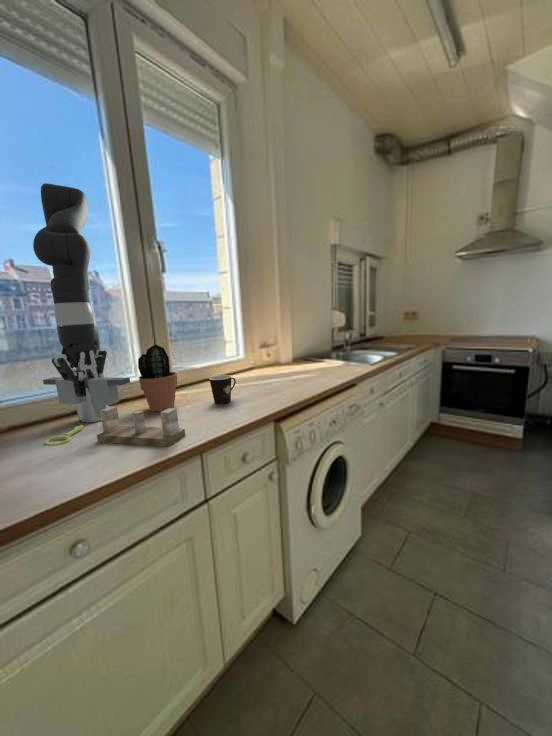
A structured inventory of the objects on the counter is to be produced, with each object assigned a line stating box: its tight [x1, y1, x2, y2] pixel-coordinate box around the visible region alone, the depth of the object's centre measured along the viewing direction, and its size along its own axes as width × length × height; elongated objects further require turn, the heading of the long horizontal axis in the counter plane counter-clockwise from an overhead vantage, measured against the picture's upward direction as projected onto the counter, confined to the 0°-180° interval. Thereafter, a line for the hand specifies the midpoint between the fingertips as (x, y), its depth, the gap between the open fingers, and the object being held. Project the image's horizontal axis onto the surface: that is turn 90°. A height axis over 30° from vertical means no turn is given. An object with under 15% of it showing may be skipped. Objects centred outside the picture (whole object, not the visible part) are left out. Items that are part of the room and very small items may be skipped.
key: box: [44, 424, 84, 446], centre depth 97 cm, size 7×12×2 cm, turn 9°
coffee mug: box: [209, 374, 237, 405], centre depth 125 cm, size 12×9×10 cm
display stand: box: [96, 405, 186, 447], centre depth 91 cm, size 24×8×9 cm, turn 74°
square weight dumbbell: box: [42, 376, 131, 406], centre depth 77 cm, size 24×3×6 cm, turn 74°
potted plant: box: [137, 344, 179, 412], centre depth 120 cm, size 14×14×25 cm
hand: (87, 394), depth 77 cm, fingers closed on square weight dumbbell, 2 cm apart
